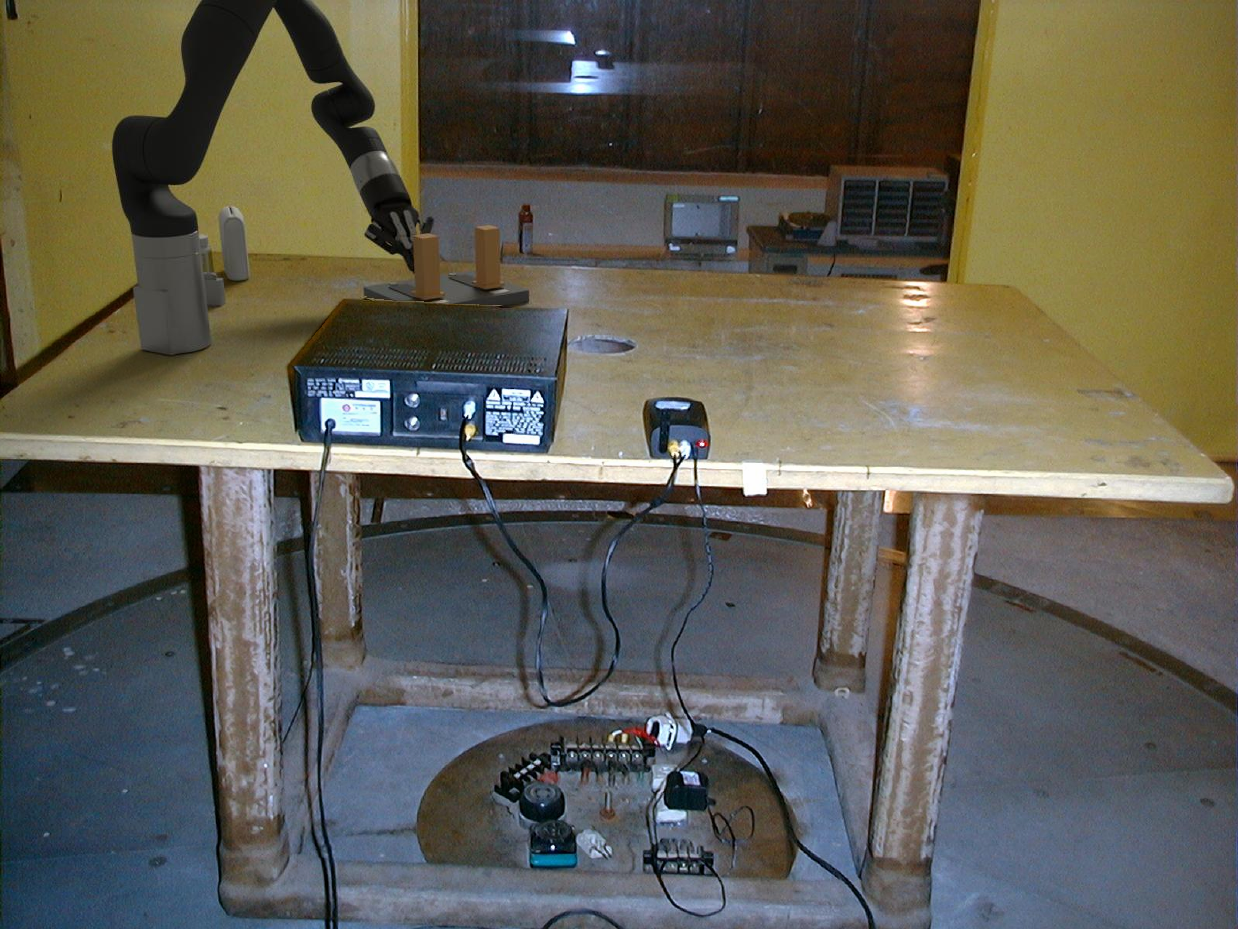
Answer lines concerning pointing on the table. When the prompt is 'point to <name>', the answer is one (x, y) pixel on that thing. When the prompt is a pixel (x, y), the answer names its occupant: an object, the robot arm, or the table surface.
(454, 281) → the base plate
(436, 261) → the tab left
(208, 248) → the supplement bottle
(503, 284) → the brown tall rectangular block
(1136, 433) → the table surface
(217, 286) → the lighter
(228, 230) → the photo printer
